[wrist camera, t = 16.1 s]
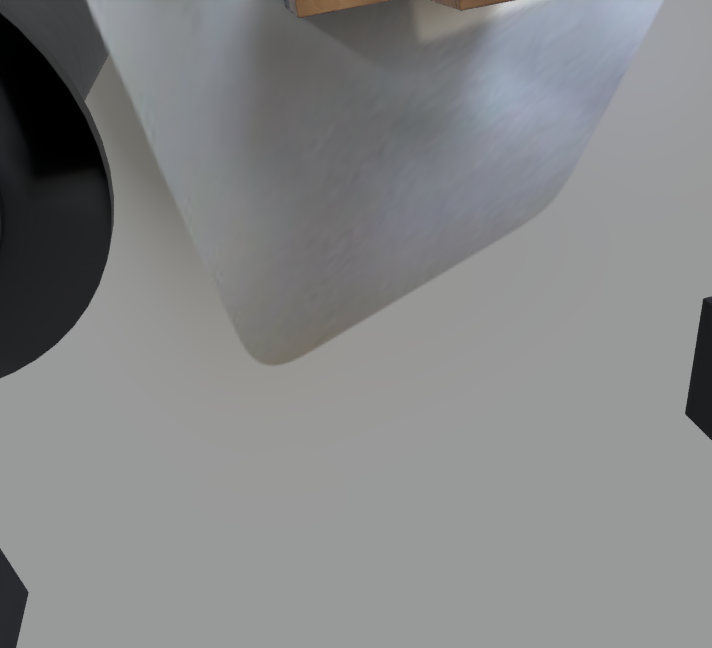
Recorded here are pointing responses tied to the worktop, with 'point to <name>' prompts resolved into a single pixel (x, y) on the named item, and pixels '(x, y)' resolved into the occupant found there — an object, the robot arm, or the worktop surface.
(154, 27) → the worktop surface
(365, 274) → the worktop surface
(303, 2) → the wooden t-shaped block
